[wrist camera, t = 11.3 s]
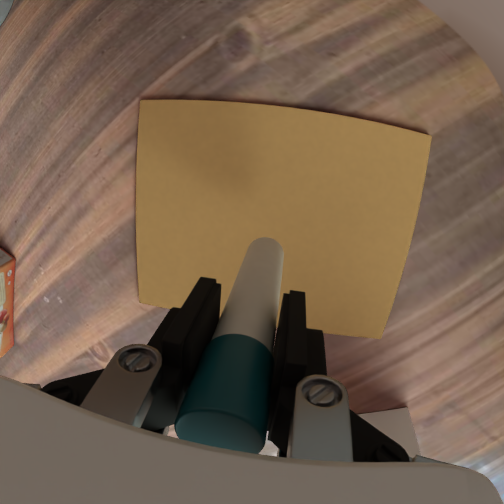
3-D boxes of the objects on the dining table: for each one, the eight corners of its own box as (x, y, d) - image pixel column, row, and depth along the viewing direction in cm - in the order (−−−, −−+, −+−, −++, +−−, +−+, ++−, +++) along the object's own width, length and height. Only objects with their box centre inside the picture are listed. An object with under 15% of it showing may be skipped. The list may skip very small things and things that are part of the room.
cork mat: (142, 100, 20) (140, 99, 20) (429, 135, 19) (431, 135, 18) (141, 300, 26) (139, 302, 26) (379, 336, 25) (380, 339, 24)
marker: (247, 232, 17) (170, 400, 6) (288, 237, 17) (271, 419, 6) (243, 269, 18) (175, 451, 7) (282, 275, 18) (259, 468, 7)
